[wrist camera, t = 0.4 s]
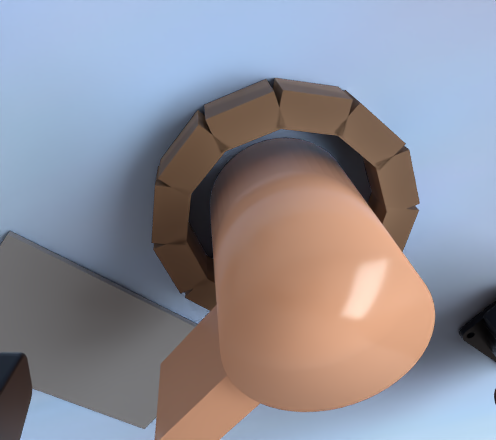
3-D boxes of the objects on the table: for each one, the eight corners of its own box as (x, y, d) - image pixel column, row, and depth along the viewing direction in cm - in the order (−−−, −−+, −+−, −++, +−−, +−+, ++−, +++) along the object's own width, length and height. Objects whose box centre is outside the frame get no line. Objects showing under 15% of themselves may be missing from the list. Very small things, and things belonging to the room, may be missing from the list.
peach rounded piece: (272, 107, 19) (326, 208, 11) (376, 190, 22) (477, 317, 14) (126, 286, 23) (92, 451, 15) (229, 338, 26) (245, 500, 18)
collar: (446, 180, 22) (468, 199, 20) (289, 329, 26) (296, 355, 24) (266, 18, 17) (273, 25, 15) (107, 229, 21) (100, 253, 19)
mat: (229, 340, 26) (229, 344, 25) (144, 424, 29) (144, 429, 28) (9, 230, 21) (7, 234, 20) (-66, 347, 24) (-68, 351, 23)
